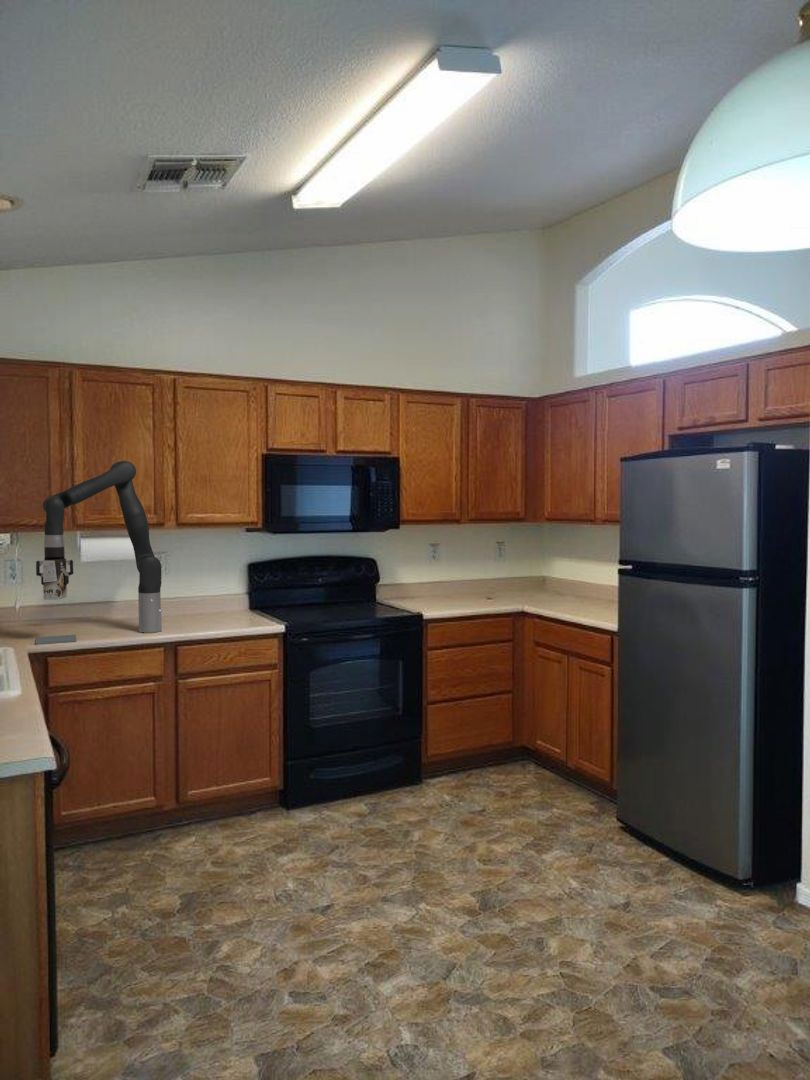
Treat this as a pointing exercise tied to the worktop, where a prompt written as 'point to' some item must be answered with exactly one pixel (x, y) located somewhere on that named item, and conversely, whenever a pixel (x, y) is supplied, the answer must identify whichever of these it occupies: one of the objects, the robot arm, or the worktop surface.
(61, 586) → the coffee box
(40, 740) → the worktop surface
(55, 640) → the mat
